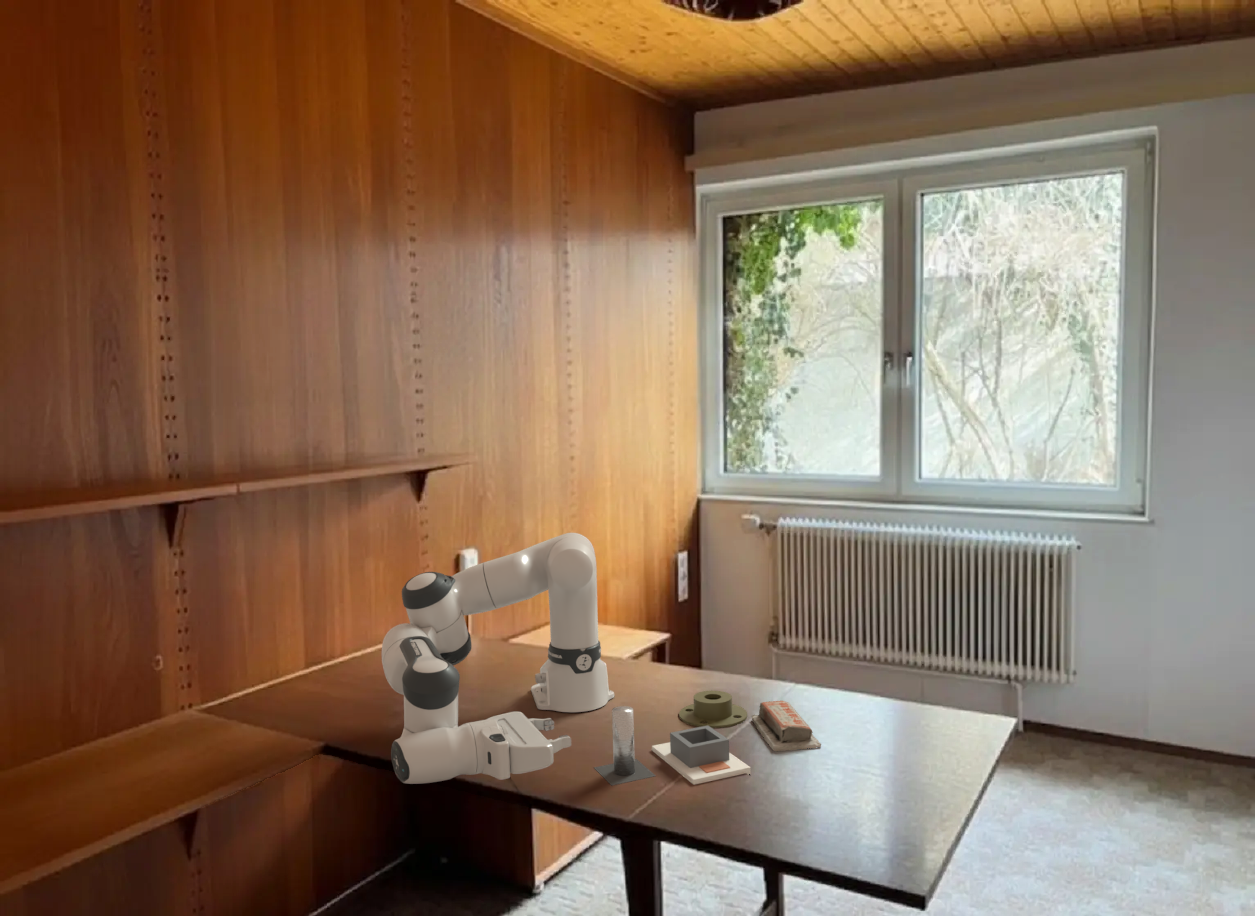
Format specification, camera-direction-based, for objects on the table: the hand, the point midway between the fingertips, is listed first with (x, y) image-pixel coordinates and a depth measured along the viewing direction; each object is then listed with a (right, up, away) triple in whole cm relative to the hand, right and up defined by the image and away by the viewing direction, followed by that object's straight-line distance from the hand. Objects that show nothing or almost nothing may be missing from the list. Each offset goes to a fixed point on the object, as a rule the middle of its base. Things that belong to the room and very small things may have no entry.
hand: (561, 731), depth 172 cm
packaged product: (+45, -8, +25) cm, 52 cm away
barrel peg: (+11, -9, +6) cm, 16 cm away
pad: (+11, -10, +6) cm, 16 cm away
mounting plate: (+26, -9, +10) cm, 30 cm away
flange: (+31, -8, +36) cm, 48 cm away
